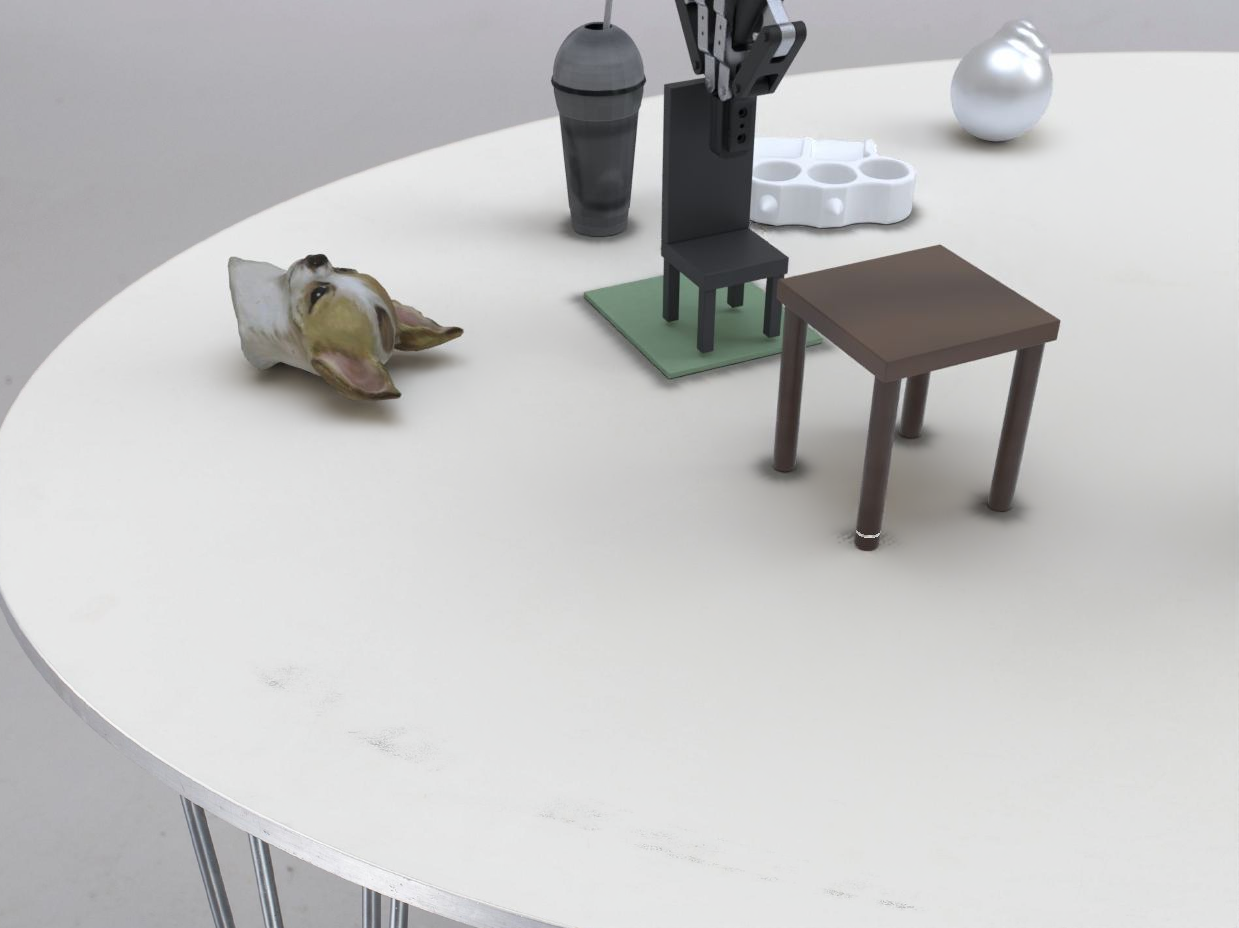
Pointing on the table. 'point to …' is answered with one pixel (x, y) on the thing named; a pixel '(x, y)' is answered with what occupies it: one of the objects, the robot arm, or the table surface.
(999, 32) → the white spiral shell
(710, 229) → the chair
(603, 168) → the beverage cup
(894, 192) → the white brass knuckles
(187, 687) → the table surface
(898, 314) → the side table
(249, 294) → the ceramic sculpture
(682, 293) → the mat
